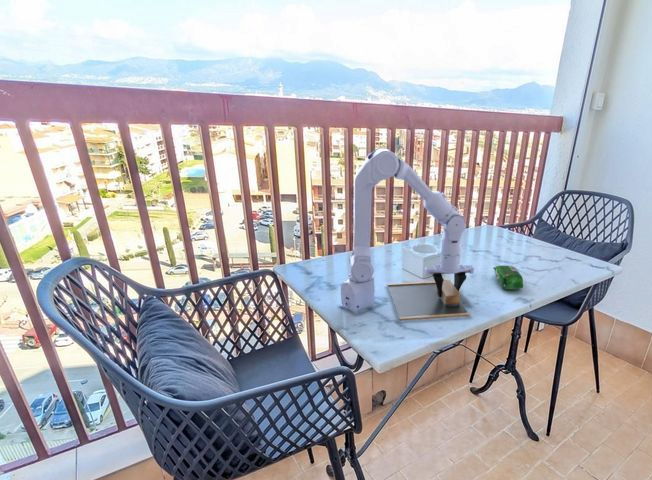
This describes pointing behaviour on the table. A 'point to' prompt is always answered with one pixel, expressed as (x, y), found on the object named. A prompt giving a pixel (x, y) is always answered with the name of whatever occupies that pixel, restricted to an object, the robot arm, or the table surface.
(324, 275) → the table surface
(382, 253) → the table surface
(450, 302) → the eraser
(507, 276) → the snack package
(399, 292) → the slate board
